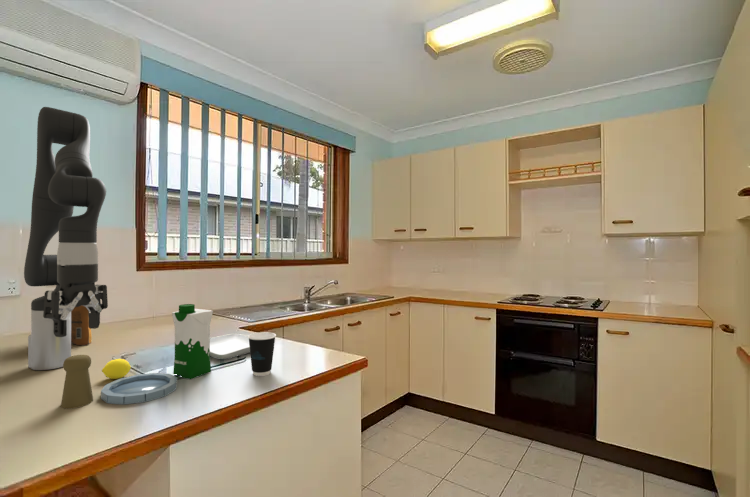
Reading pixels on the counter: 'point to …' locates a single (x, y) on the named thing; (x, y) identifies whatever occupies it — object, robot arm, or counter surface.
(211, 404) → the counter surface
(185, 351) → the milk carton
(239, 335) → the salad plate
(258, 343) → the dixie cup
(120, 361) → the lemon
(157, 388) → the round dish
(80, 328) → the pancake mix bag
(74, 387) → the tan pawn shape
